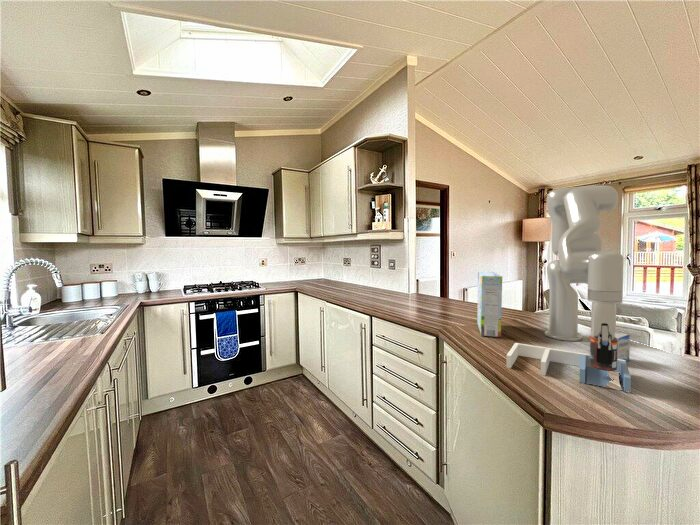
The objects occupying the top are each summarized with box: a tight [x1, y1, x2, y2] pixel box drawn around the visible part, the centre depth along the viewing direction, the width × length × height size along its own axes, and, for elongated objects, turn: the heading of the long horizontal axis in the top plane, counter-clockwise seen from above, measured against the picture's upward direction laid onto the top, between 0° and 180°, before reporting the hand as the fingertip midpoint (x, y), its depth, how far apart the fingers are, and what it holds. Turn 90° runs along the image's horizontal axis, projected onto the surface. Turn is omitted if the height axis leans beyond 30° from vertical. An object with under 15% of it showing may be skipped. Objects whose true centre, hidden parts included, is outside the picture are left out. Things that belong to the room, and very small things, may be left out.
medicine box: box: [615, 331, 631, 362], centre depth 97 cm, size 8×4×9 cm, turn 117°
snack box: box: [476, 271, 503, 338], centre depth 135 cm, size 22×9×26 cm, turn 161°
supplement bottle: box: [589, 327, 618, 371], centre depth 85 cm, size 6×6×11 cm
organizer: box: [505, 342, 632, 392], centre depth 92 cm, size 15×29×4 cm, turn 52°
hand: (603, 358), depth 86 cm, fingers closed on supplement bottle, 6 cm apart
